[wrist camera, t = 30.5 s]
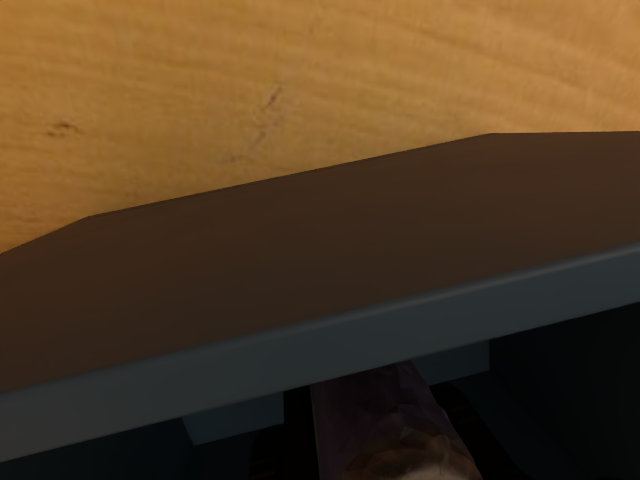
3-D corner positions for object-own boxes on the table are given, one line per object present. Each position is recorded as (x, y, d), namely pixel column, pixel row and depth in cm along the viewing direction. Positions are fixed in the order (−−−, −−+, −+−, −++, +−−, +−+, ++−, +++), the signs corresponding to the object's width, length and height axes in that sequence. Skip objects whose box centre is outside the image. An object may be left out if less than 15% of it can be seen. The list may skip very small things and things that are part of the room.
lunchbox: (188, 446, 19) (43, 957, 7) (86, 216, 15) (-776, 580, 3) (493, 368, 21) (798, 693, 9) (490, 132, 16) (1154, 121, 4)
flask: (381, 419, 16) (561, 942, 5) (322, 432, 15) (392, 994, 5) (356, 241, 13) (638, 643, 3) (283, 255, 13) (276, 740, 2)
